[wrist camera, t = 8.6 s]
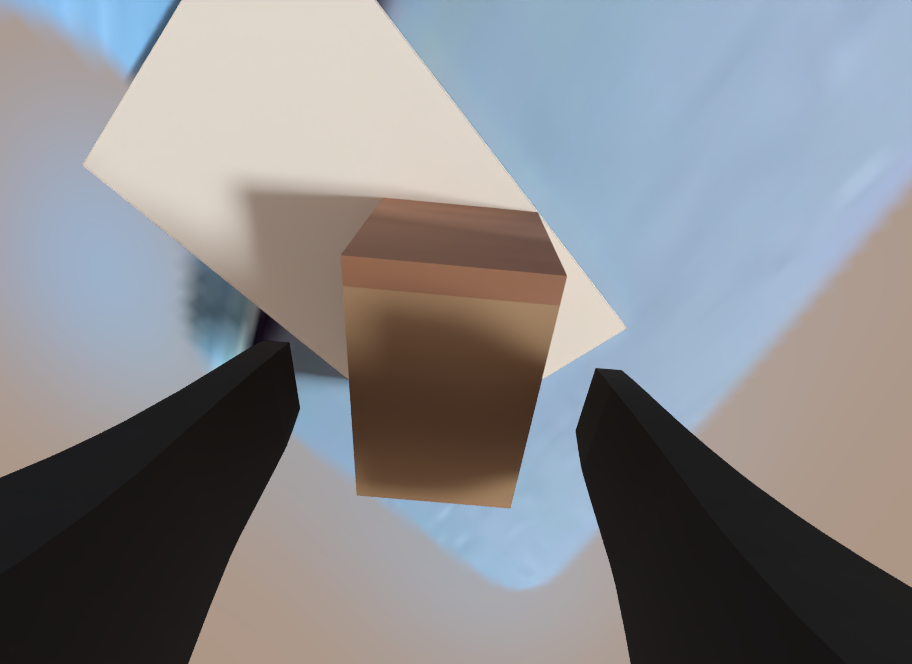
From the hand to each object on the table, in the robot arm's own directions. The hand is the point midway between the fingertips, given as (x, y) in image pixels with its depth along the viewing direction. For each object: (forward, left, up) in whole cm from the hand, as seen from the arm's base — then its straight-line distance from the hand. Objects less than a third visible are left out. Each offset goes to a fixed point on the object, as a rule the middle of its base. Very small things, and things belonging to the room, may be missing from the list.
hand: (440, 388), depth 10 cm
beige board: (-3, 0, -4) cm, 5 cm away
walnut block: (0, 0, -3) cm, 3 cm away
